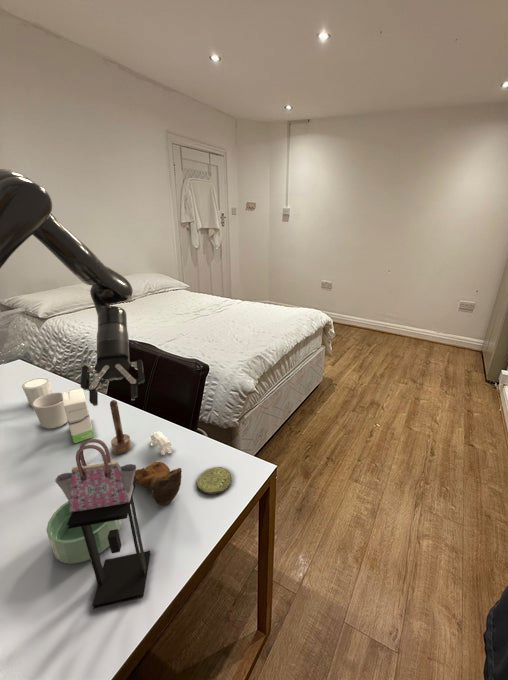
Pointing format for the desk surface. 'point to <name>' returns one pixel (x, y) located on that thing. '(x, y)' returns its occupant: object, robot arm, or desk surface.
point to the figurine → (161, 442)
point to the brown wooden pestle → (119, 432)
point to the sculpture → (160, 481)
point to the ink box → (77, 415)
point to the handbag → (103, 506)
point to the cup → (50, 410)
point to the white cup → (36, 388)
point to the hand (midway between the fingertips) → (114, 402)
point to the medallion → (214, 480)
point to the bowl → (75, 536)
